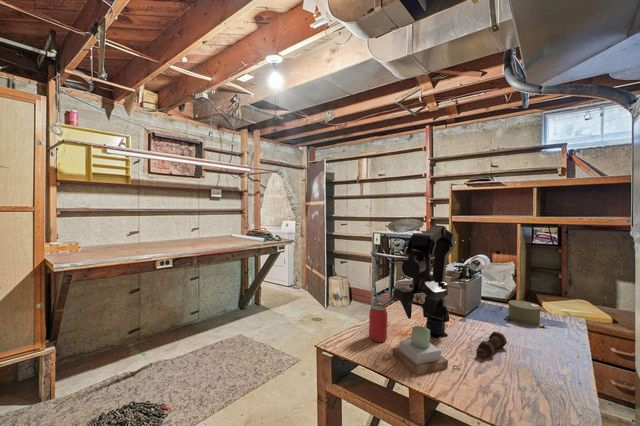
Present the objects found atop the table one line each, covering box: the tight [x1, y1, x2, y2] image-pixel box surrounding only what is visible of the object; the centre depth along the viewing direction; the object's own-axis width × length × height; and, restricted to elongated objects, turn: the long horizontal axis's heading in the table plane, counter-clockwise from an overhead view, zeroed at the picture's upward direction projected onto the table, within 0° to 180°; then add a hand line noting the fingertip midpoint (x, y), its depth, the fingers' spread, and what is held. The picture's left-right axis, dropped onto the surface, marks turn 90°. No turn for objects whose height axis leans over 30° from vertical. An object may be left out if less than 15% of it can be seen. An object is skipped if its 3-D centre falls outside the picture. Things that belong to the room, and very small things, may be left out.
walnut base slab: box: [392, 346, 449, 376], centre depth 94 cm, size 12×12×3 cm
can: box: [507, 299, 542, 326], centre depth 131 cm, size 12×12×7 cm
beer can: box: [368, 304, 388, 343], centre depth 109 cm, size 7×7×12 cm
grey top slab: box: [399, 338, 442, 364], centre depth 94 cm, size 9×9×3 cm
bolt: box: [475, 331, 508, 358], centre depth 101 cm, size 6×5×15 cm
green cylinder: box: [411, 325, 431, 349], centre depth 94 cm, size 6×6×5 cm
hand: (420, 316), depth 99 cm, fingers open, 9 cm apart
